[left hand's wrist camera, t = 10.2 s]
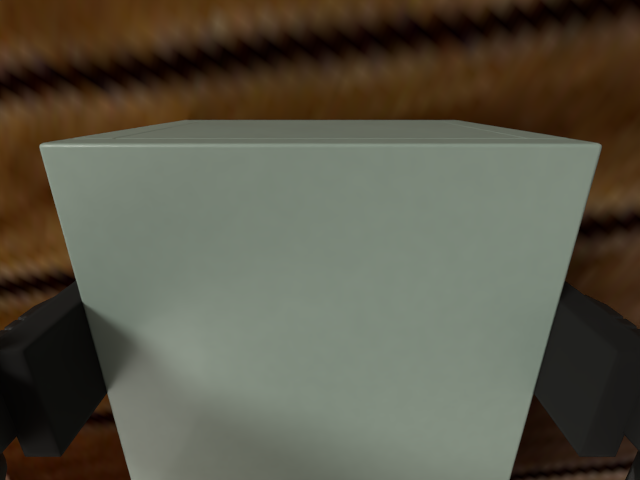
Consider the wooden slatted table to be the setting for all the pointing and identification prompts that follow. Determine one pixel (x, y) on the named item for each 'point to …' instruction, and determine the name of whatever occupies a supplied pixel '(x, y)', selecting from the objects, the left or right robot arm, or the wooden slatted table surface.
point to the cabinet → (320, 290)
